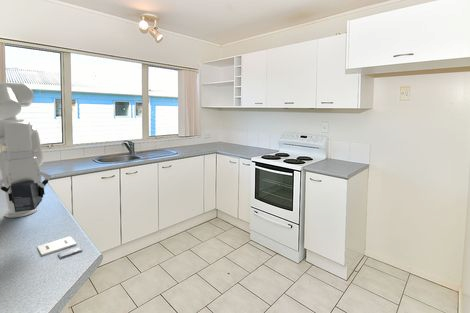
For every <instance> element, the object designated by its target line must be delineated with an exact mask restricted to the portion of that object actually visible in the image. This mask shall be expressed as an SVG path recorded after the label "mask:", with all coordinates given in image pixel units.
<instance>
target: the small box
mask: <svg viewBox="0 0 470 313" xmlns="http://www.w3.org/2000/svg"><path fill="white" fill-rule="evenodd" d="M38 187H39V185H38V184H37V183H34V181H33V180H32V181H25V182H20V183H15V184H12V185H11V191H12V197H13V202H14V208H15V212H20V211H29V210H35V209H36V208H38V206H39V205H40V203H41V202H42V201H43V198H41V197H40V195H39V188H38Z"/></svg>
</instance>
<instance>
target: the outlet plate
mask: <svg viewBox="0 0 470 313" xmlns="http://www.w3.org/2000/svg"><path fill="white" fill-rule="evenodd" d="M73 246H77V242H76V241H75V240H74V239H73V237H72V236H66V237H63V238H60V239H57V240H53V241H51V242H50V241H49V242H47V243H42V244H40V245H37V250H38V252H39V253H40V255H41V256H47V255H49V254H53V253H56V252H58V251H61V250H65V249H67V248H71V247H73Z"/></svg>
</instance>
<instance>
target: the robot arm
mask: <svg viewBox="0 0 470 313" xmlns="http://www.w3.org/2000/svg"><path fill="white" fill-rule="evenodd" d="M34 94H35V93H34V90H33V89H32V87H31V86H30V85H29V84H27V83H24V82H23V83H22V82H21V83H20V82H0V146H1V147H3V148H6V149H5V150H2V151H0V173H1V177H2V178H1V179H0V190H1V191H3V192H4V194H5V198H6V199H5V200H6V204H7V211H5V212H4V217H5V218H11V219H13V218H21V217H25V216H29V215H31V214H33V213H36V212H37V211H38V207H36V209H35V210H29V211H20V212H15V208H14V202H13V197H12V191H11V185H12V184H15V183H20V182H25V181H32V180H33V181H34V183H37V184H38V185H39V187H38V188H39V195H40V197H41V198H42V199H43V198H44V195H45V194H46V193H45V186H46V185H47V184H48V183H49V181H50V180H51V178H52V175H51V174H49V173H46V172H43V171H42V170H40V169H41V168H40V167H41V166H42V165H43V163H44V155H43V150H42V144H41V140H40V135H39V131H38V130H37V128H36V127H34V126H33V124H32V123H31V122H30V121H29V120H27V119H17V115H18V114H20V113H21V110H22V108H25V107H29V106H30V105H31V104H32V103H33V102H34V99H35V95H34ZM42 177H45V178H44V179H43V181H42Z"/></svg>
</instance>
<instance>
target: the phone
mask: <svg viewBox="0 0 470 313" xmlns="http://www.w3.org/2000/svg"><path fill="white" fill-rule="evenodd" d="M81 252H83V249H82V248H81V247H80V246H77V247H74V248H71V249H68V250H65V251H63V252H59V253H57V256H58V258H59V260H61V259H65V258H67V257H70V256H73V255H76V254H79V253H81Z"/></svg>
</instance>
